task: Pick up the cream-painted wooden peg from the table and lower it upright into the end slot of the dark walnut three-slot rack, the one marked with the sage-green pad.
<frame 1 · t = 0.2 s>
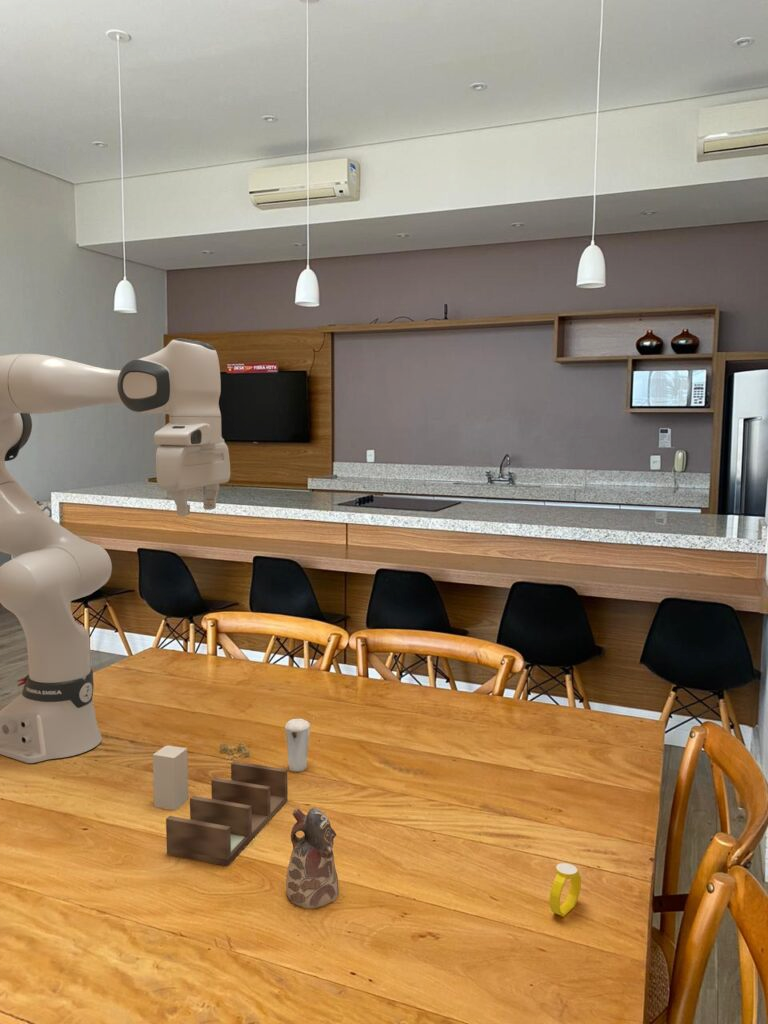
hand: (197, 512, 141), 47 cm above the table, tool pointing down, fingers open, 8 cm apart
watch: (564, 911, 106), on the table
milkshake: (299, 769, 147), on the table
peg: (171, 803, 133), on the table
figurine: (312, 894, 109), on the table
slot rack: (231, 825, 126), on the table
dice set: (236, 758, 153), on the table
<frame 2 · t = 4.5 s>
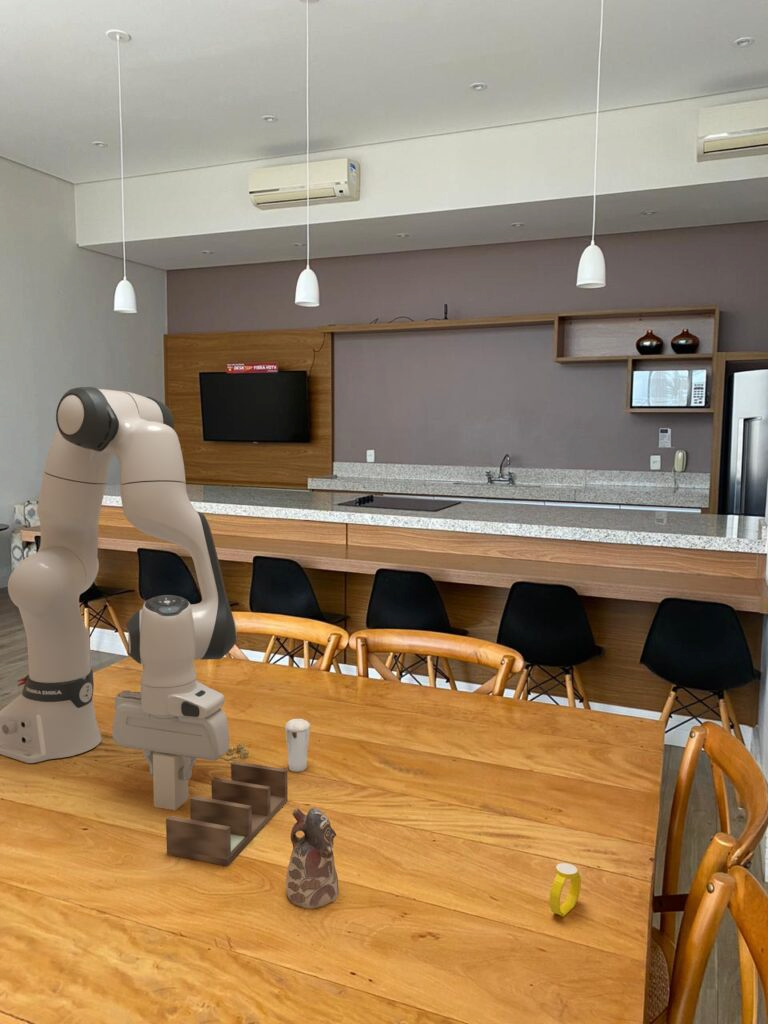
hand: (170, 776, 133), 5 cm above the table, tool pointing down, fingers closed on peg, 4 cm apart
peg: (171, 802, 133), on the table, touching gripper
everything else where it was.
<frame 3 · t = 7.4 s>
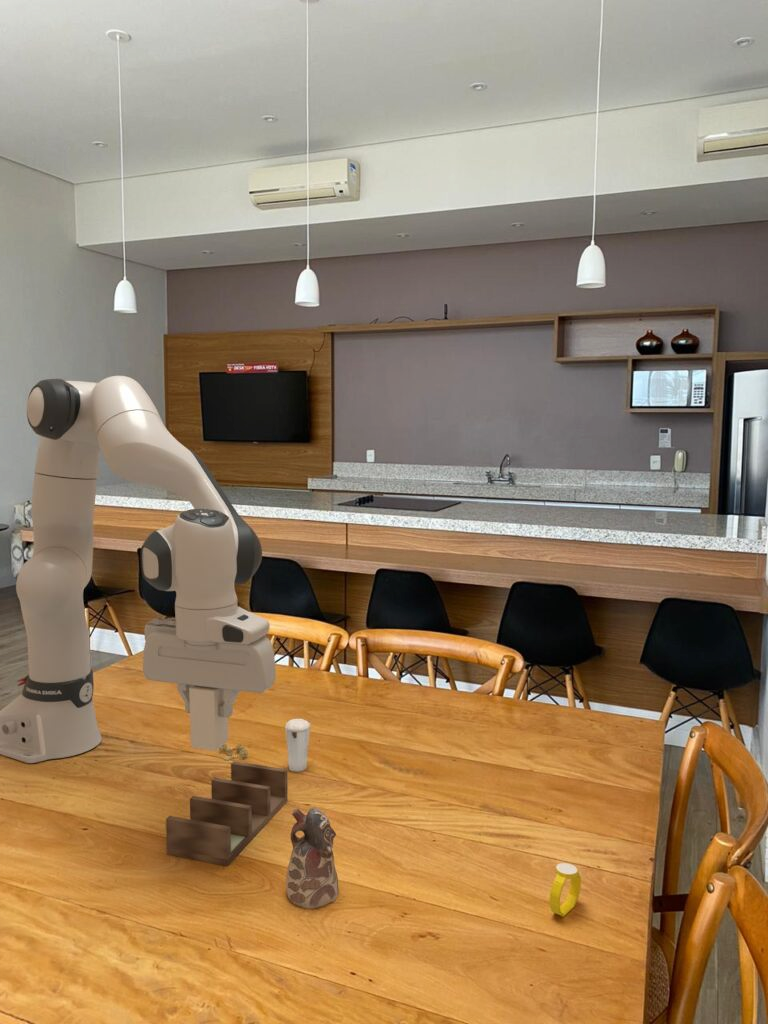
hand: (209, 714, 118), 21 cm above the table, tool pointing down, fingers closed on peg, 4 cm apart
peg: (210, 743, 118), point 16 cm above the table, touching gripper
everything else where it was.
when the fingers open (6 cm above the table, at t = 10.3 s): peg stays where it is, resting on slot rack.
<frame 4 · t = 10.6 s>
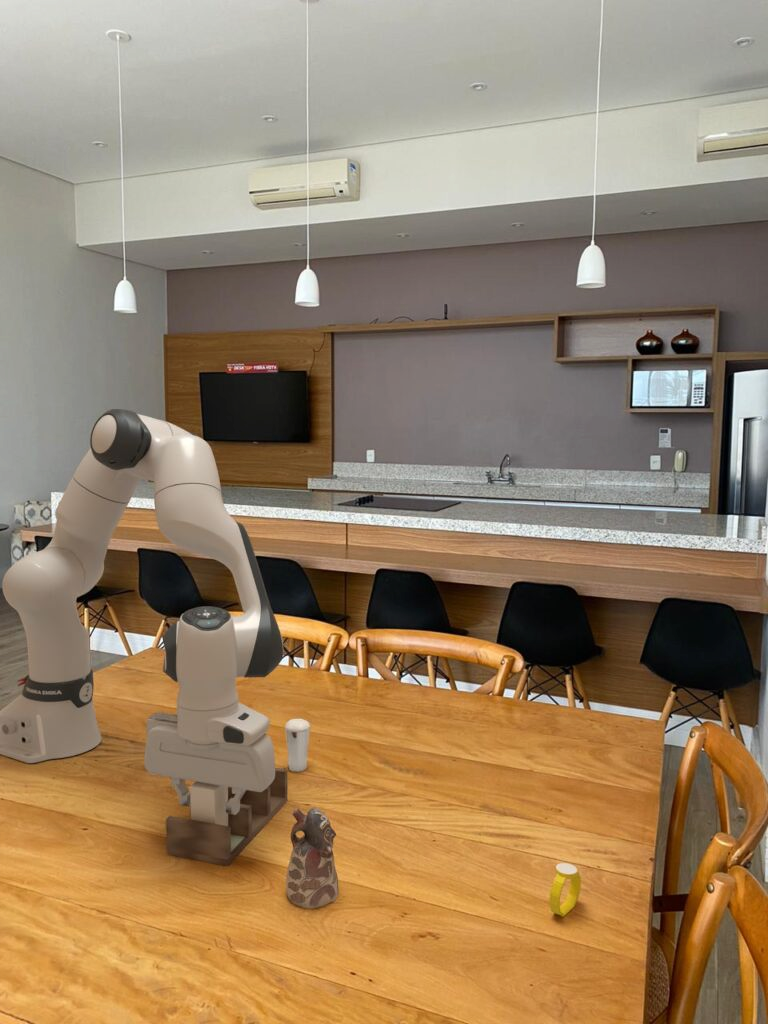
hand: (209, 808, 119), 6 cm above the table, tool pointing down, fingers open, 6 cm apart
peg: (210, 839, 120), point 1 cm above the table, touching slot rack
everything else where it was.
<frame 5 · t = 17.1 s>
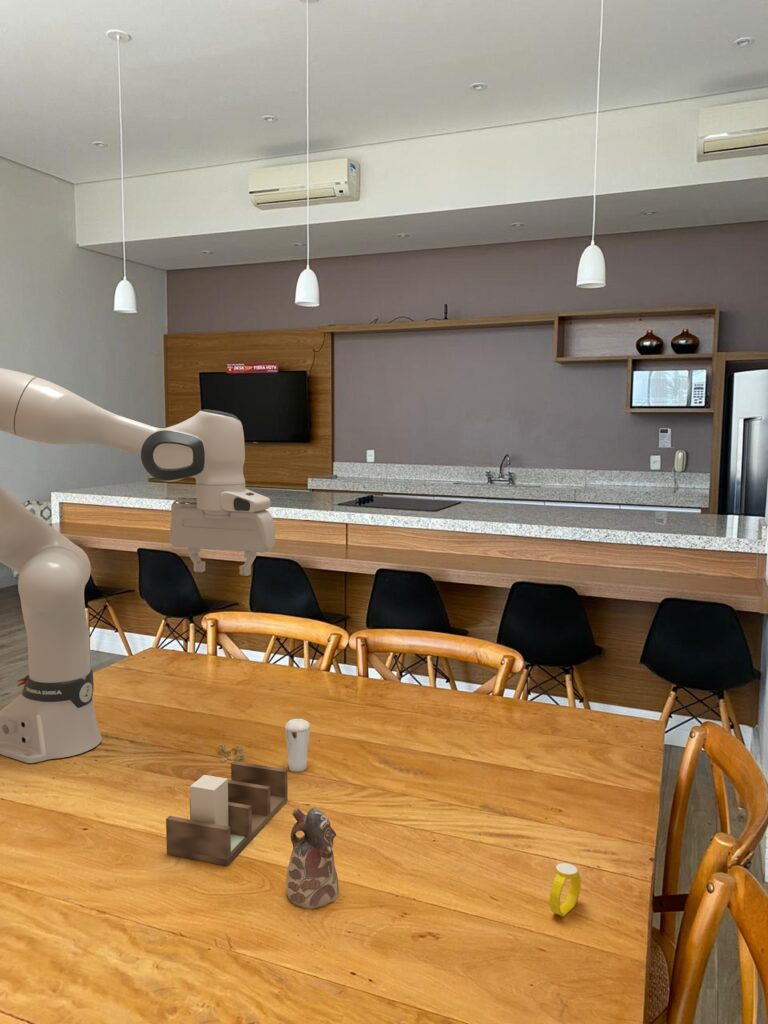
hand: (222, 573, 148), 35 cm above the table, tool pointing down, fingers open, 8 cm apart
at the end: peg 0.2 cm from the target spot on the slot rack, point 1.1 cm above the slot rack's base; peg tilted 0°; the gripper is holding nothing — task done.
